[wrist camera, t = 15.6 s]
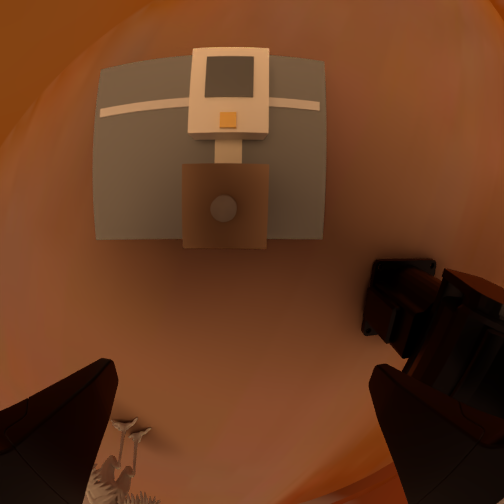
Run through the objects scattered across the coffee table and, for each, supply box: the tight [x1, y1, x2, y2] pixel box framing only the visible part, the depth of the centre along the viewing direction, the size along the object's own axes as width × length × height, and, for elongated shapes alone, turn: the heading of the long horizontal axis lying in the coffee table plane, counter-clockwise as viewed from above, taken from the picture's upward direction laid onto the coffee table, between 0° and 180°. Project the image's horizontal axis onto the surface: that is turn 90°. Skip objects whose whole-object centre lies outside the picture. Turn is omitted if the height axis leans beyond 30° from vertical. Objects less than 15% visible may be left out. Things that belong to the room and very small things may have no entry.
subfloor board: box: [93, 55, 326, 240], centre depth 16 cm, size 15×12×2 cm
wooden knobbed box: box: [182, 163, 269, 249], centre depth 13 cm, size 4×4×6 cm
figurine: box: [85, 418, 160, 504], centre depth 16 cm, size 11×4×15 cm, turn 36°
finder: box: [188, 47, 269, 140], centre depth 13 cm, size 4×5×3 cm
